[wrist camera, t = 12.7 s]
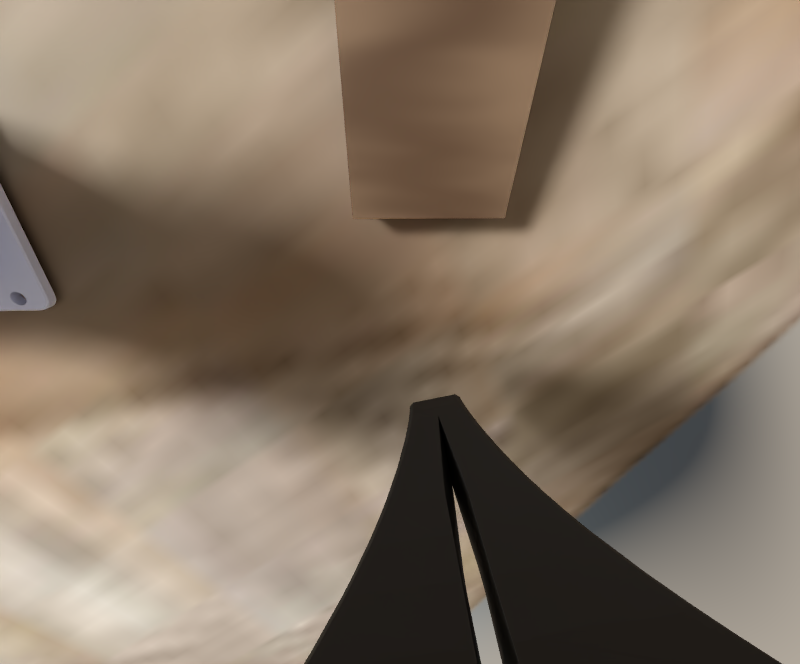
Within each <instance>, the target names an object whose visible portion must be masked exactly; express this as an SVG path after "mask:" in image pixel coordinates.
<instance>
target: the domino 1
mask: <svg viewBox="0 0 800 664" xmlns="http://www.w3.org/2000/svg"><path fill="white" fill-rule="evenodd" d="M555 3H556V0H335V12H336V24H337V36H338V48H339V60H340V72H341V84H342V96H343V108H344V120H345V132H346V144H347V156H348V168H349V180H350V192H351V204H352V216H353V219H428V218H505V215H506V211H507V207H508V202H509V198H510V194H511V190H512V185H513V181H514V177H515V173H516V168H517V164H518V160H519V156H520V152H521V147H522V143H523V139H524V135H525V130H526V126H527V122H528V118H529V113H530V109H531V105H532V101H533V96H534V92H535V88H536V84H537V79H538V75H539V71H540V67H541V62H542V58H543V54H544V50H545V45H546V41H547V37H548V33H549V28H550V24H551V20H552V16H553V11H554V7H555Z"/></svg>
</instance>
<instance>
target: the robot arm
mask: <svg viewBox="0 0 800 664" xmlns="http://www.w3.org/2000/svg"><path fill="white" fill-rule="evenodd" d="M21 294H22V295H23V296H24V297H25V298H26V299H24V298H23V297H22V295H21ZM55 303H56V297H55V294H54V292H53V290H52V288H51V286H50V284H49V282H48V280H47V278H46V276H45V273H44V271H43V269H42V267H41V265H40V263H39V261H38V259H37V257H36V255H35V253H34V251H33V249H32V247H31V245H30V243H29V241H28V239H27V237H26V235H25V233H24V231H23V229H22V227H21V225H20V223H19V220H18V218H17V216H16V214H15V212H14V210H13V208H12V206H11V204H10V202H9V200H8V198H7V196H6V194H5V192H4V190H3V188H2V186H1V184H0V311H38V310H45V309H47V308H50V307H52V306H53V305H55ZM452 486H453V488H452ZM453 489H454V492H455V495H456V499H457V502H458V505H459V508H460V511H461V514H462V517H463V521H464V524H465V527H466V530H467V533H468V536H469V539H470V542H471V546H472V549H473V552H474V555H475V558H476V561H477V564H478V568H479V571H480V574H481V578H482V582H483V585H484V589H485V592H486V597H487V601H488V605H489V609H490V613H491V617H492V621H493V626H494V630H495V634H496V638H497V643H498V647H499V651H500V655H501V659H502V664H781V663H780V662H779V661H777V660H775V659H774V658H772V657H771V656H769V655H768V654H766V653H764V652H763V651H761V650H760V649H758V648H757V647H755V646H754V645H752V644H750V643H749V642H747V641H746V640H744V639H742V638H741V637H739V636H738V635H736V634H735V633H733V632H732V631H730V630H729V629H727V628H726V627H724V626H723V625H721V624H720V623H718V622H717V621H715V620H714V619H712V618H711V617H709V616H708V615H706V614H705V613H703V612H702V611H700V610H699V609H697V608H696V607H694V606H693V605H691V604H690V603H688V602H687V601H686V600H684V599H683V598H681V597H680V596H678V595H677V594H675V593H674V592H673V591H671V590H670V589H668V588H667V587H665V586H664V585H663V584H661V583H660V582H658V581H657V580H655V579H654V578H652V577H651V576H650V575H648V574H647V573H645V572H644V571H643V570H641V569H640V568H639V567H637V566H636V565H635V564H633V563H632V562H631V561H629V560H628V559H627V558H625V557H624V556H623V555H621V554H620V553H619V552H617V551H616V550H615V549H613V548H612V547H611V546H609V545H608V544H607V543H605V542H604V541H603V540H601V539H600V538H599V537H598V536H596V535H595V534H593V533H592V532H591V531H589V530H588V529H587V528H586V527H585V526H583V525H582V524H581V523H580V522H578V521H577V520H576V519H575V518H574V517H572V516H571V515H570V514H569V513H568V512H566V511H565V510H564V509H563V508H562V507H560V506H559V505H558V504H557V503H556V502H555V501H554V500H552V499H551V498H550V497H549V496H548V495H547V494H546V493H544V492H543V491H542V490H541V489H540V488H539V487H538V486H537V485H536V484H535V483H534V482H532V481H531V480H530V479H529V478H528V477H527V476H526V475H525V474H524V473H523V472H522V471H521V470H520V469H519V468H518V467H517V466H516V465H515V464H514V463H513V462H512V461H511V460H510V459H509V458H508V457H507V456H506V455H505V454H504V453H503V452H502V450H501V449H500V448H499V447H498V446H497V445H496V444H495V443H494V442H493V440H492V439H491V438H490V437H489V436H488V435H487V434H486V433H485V431H484V430H483V429H482V428H481V427H480V425H479V424H478V423H477V421H476V420H475V419H474V418H473V416H472V415H471V414H470V412H469V411H468V410H467V408H466V407H465V405H464V404H463V402H462V400H461V399H460V397H459V396H457V395H450V396H445V397H440V398H435V399H430V400H425V401H420V402H415V403H413V404H412V405H411V406H410V415H409V423H408V428H407V433H406V438H405V442H404V446H403V449H402V453H401V457H400V461H399V464H398V468H397V471H396V474H395V477H394V480H393V482H392V485H391V488H390V491H389V494H388V497H387V500H386V502H385V505H384V508H383V510H382V513H381V515H380V518H379V520H378V523H377V525H376V527H375V530H374V532H373V534H372V537H371V539H370V541H369V543H368V545H367V547H366V550H365V552H364V554H363V556H362V558H361V560H360V562H359V564H358V566H357V568H356V571H355V573H354V575H353V577H352V579H351V581H350V582H349V584H348V586H347V588H346V590H345V592H344V594H343V596H342V598H341V600H340V601H339V603H338V605H337V607H336V609H335V610H334V612H333V614H332V616H331V617H330V619H329V621H328V623H327V625H326V626H325V628H324V630H323V632H322V634H321V635H320V637H319V639H318V641H317V643H316V644H315V646H314V648H313V650H312V651H311V653H310V655H309V656H308V658H307V660H306V662H305V663H304V664H481V661H480V656H479V651H478V646H477V641H476V636H475V631H474V627H473V622H472V616H471V611H470V606H469V602H468V597H467V591H466V585H465V579H464V573H463V565H462V557H461V550H460V542H459V534H458V526H457V519H456V511H455V503H454V495H453Z"/></svg>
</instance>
